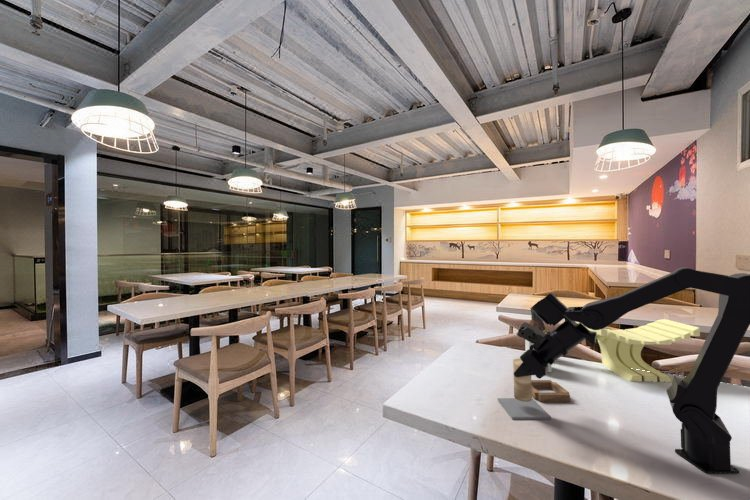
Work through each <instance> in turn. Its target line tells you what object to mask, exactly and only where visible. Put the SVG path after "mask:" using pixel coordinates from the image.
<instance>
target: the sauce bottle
mask: <svg viewBox="0 0 750 500" xmlns="http://www.w3.org/2000/svg"><path fill="white" fill-rule="evenodd" d="M530 313H531V317H530V318H531V320H530V321H529V323H528V324H530V325H532V326H534V327H536V328H538V329H539V330H541V331H542V332H544V333H547V331H546V330H547V329H546V326H545V323H544V322H543V321H542V320H541V319H540V318H539V317H538V316H537V315H536V314H535V313H534V312H533V311H532V310H531V309H530Z"/></svg>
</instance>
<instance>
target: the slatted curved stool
mask: <svg viewBox="0 0 750 500" xmlns="http://www.w3.org/2000/svg"><path fill="white" fill-rule="evenodd" d="M575 322H576V321H575ZM576 323H577V324H578V323H580V322H576ZM585 327H586V326H585ZM586 328H587V327H586ZM587 329H588V330H589V331H593V332H597V334H596V340H597V343H598V345H599V348H600V352H601V364H602V366H603V365H604V366H606V367H607V368H609V369H610V370H609V369H608V370H609V371H611V372H612V371H613V372H612V373H613V374H616V375H618V376H619V377H621V378H623V379H625V380H626V381H628V382H645V381H646V382H647V381H650V383H658V382H659V381H663V382H662V383H672V381H673V379H671V376H669V375H667V374H665V373H663V372H662V371H659V370H657V369H655V368H654V367H652V366H650V365H649V364H648V363H647V362H645V361H644V360H643V358H642V356H641V355H642V350H643V349H644V347H645V345H646V346H647V345H660V346H661V345H663V346H664V345H666V346H670V345H672V344H673V343H672V342H674V343H682V340H691V337H701V329H700V327H699V326H695V325H690V324H686V323H682V322H679V321H674V320H672V319H667V318H666V319H665V318H662V319H657V320H654V322H649V323H646V324H645V325H640V326H638V327H634V328H625V329H608V328H603V329H600V330H593V329H589V328H587ZM604 366H603V367H604ZM607 368H606V369H607ZM631 368H633V369H631ZM636 369H640V370H636ZM642 370H645V371H642ZM647 371H650V372H647ZM651 381H653V382H651ZM664 381H665V382H664ZM647 383H648V382H647Z"/></svg>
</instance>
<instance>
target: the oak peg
mask: <svg viewBox="0 0 750 500" xmlns="http://www.w3.org/2000/svg"><path fill="white" fill-rule="evenodd" d="M522 363H523V361H522V360H521V359H520V358H515V359H513V360H512V365H513V373H514V372H515V371H516V370H517V369H518V367H519V366H520V365H521V364H522ZM531 380H532V375H531V376H522V377H515V376H514V375H513V397H514V398H516V399H517V400H519V401H523V402H529V401H532V399H533V397H532V383H531Z"/></svg>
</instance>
